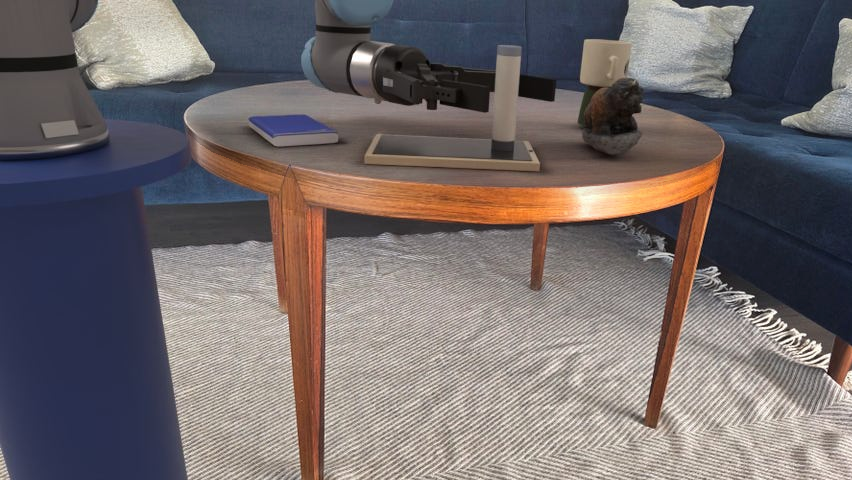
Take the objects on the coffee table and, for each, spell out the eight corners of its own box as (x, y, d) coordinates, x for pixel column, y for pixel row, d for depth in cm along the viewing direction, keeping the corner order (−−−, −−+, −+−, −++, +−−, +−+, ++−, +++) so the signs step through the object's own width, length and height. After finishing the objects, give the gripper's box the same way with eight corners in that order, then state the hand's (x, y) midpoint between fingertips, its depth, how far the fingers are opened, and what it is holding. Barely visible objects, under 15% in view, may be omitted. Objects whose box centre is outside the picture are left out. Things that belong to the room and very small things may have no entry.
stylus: (486, 148, 79) (492, 44, 74) (503, 145, 81) (510, 44, 76) (501, 152, 77) (508, 47, 72) (518, 150, 79) (526, 47, 74)
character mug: (629, 136, 97) (643, 45, 92) (583, 134, 96) (594, 42, 91) (609, 122, 107) (620, 39, 102) (567, 121, 106) (576, 37, 101)
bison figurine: (570, 141, 91) (578, 67, 87) (618, 142, 92) (628, 69, 88) (595, 162, 80) (605, 78, 76) (649, 163, 81) (662, 80, 77)
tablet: (364, 164, 73) (364, 154, 72) (376, 141, 84) (376, 133, 84) (539, 171, 74) (540, 162, 74) (528, 148, 85) (528, 140, 85)
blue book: (338, 130, 81) (307, 113, 91) (272, 134, 77) (247, 116, 87) (338, 142, 82) (308, 124, 92) (273, 147, 78) (248, 127, 88)
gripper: (451, 95, 97) (573, 116, 85) (319, 111, 79) (452, 141, 67) (453, 42, 94) (580, 57, 82) (317, 46, 76) (455, 66, 64)
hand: (523, 94), depth 75 cm, fingers open, 13 cm apart
